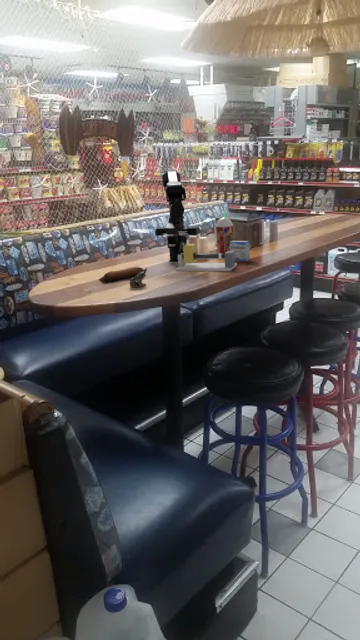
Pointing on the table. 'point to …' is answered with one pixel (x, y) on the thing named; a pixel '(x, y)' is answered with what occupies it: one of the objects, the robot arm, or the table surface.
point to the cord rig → (226, 266)
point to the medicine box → (241, 250)
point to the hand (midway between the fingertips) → (178, 251)
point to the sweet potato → (120, 274)
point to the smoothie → (224, 234)
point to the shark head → (138, 279)
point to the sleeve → (189, 253)
